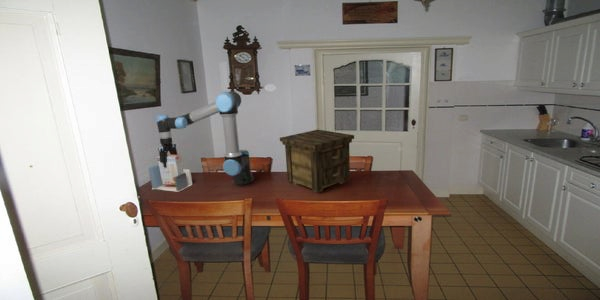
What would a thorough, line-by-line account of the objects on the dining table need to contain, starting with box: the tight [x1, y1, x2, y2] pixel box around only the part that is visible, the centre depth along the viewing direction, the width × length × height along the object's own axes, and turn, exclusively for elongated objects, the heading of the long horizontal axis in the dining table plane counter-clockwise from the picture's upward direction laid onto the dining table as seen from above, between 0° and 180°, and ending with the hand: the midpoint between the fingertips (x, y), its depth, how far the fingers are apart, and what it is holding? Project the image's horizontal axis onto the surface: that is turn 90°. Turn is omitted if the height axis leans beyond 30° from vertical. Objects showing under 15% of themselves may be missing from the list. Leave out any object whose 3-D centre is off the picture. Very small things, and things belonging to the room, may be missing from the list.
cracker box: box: [157, 154, 183, 185], centre depth 213 cm, size 14×6×21 cm, turn 76°
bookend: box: [175, 173, 189, 192], centre depth 209 cm, size 2×9×10 cm, turn 157°
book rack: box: [148, 163, 193, 192], centre depth 214 cm, size 24×14×16 cm, turn 67°
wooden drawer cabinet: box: [279, 129, 355, 194], centre depth 206 cm, size 35×35×33 cm
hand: (171, 169), depth 213 cm, fingers closed on cracker box, 6 cm apart
